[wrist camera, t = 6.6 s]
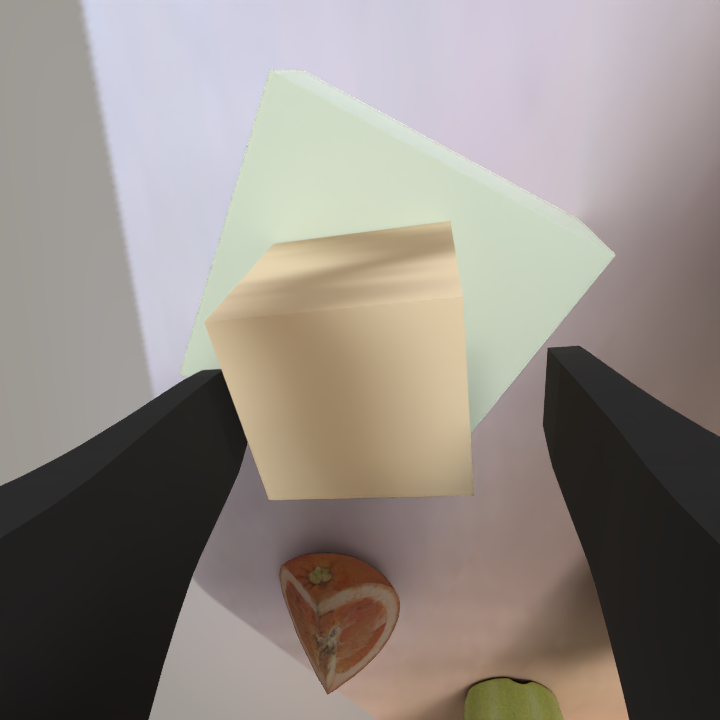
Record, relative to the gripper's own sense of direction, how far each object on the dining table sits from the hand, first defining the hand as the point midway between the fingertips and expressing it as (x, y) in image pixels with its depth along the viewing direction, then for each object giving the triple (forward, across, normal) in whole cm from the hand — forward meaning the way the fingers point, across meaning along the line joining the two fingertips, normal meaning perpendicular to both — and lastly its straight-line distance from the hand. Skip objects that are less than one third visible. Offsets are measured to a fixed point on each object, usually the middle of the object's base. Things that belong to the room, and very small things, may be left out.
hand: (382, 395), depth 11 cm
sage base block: (+8, +1, 0) cm, 8 cm away
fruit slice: (+8, +5, +17) cm, 20 cm away
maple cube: (+4, +1, 0) cm, 4 cm away
